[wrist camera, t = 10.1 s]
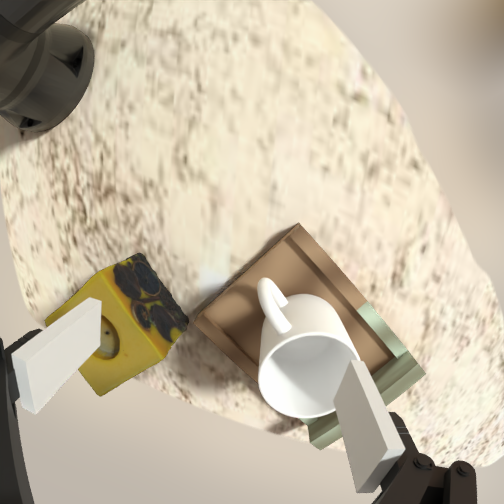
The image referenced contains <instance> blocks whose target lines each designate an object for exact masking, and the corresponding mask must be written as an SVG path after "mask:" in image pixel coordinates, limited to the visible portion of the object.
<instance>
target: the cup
mask: <svg viewBox="0 0 504 504" xmlns="http://www.w3.org/2000/svg"><path fill="white" fill-rule="evenodd" d="M257 291H258V298H259V301H260V304H261V307H262V309H263V312H264V314H265V316H266V317H265V320H264V323H263V327H262V334H261V347H260V359H259V371H258V385H259V389H260V392H261V394H262V396H263V398H264V399H265V401H266V402H267V403H268V404H269V405H270V406H271V407H272V408H274V409H275V410H276V411H278V412H280V413H282V414H284V415H287V416H290V417H295V418H316V417H320V416H324V415H327V414H329V413H332V412H334V411H336V410H335V406H334V402H333V400H334V397H335V395H336V393H337V391H338V388H339V386H340V384H341V381H342V379H343V377H344V374H345V372H346V369H347V367H348V364H349V362H350V359H351V360H358V361H361V360H360V357H359V355H358V353H357V351H356V349H355V347H354V345H353V343H352V341H351V339H350V337H349V335H348V333H347V331H346V329H345V328H344V326H343V324H342V322H341V320H340V318H339V316H338V314H337V312H336V311H335V309H334V308H333V307H332V306H331V305H330V304H329V303H328V302H327V301H325V300H324V299H322V298H320V297H317V296H314V295H310V294H296V295H292V296H289V297H286V298H285V297H284V295H283V294H282V292H281V291H280V290H279V288H278V287H277V286H276V285H275V283H274V282H273V281H272V280H270V279H269V278H262V279H260V280H259V282H258V286H257Z"/></svg>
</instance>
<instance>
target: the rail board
mask: <svg viewBox="0 0 504 504" xmlns="http://www.w3.org/2000/svg"><path fill="white" fill-rule="evenodd" d="M262 278H269V279H270V280H272V281H273V282H274V283H275V285H276V286H277V287H278V288H279V290H280V291H281V292H282V294H283V295H284V297H285V298H286V297H289V296H292V295H296V294H310V295H314V296H317V297H320V298H322V299H324V300H325V301H327V302H328V303H329V304H330V305H331V306H332V307H333V308H334V309H335V311H336V312H337V314H338V316H339V318H340V320H341V322H342V324H343V326H344V328H345V329H346V331H347V333H348V335H349V337H350V339H351V341H352V343H353V345H354V347H355V349H356V351H357V353H358V355H359V357H360V360H361V361H364V363H365V365H366V367H367V369H368V371H369V373H370V375H371V377H372V379H373V381H374V383H375V385H376V387H377V389H378V391H379V393H380V396H381V398H382V400H383V402H384V404H385V406H387V405H388V404H390V403H391V402H392V401H393V400H395V399H396V398H397V397H399V396H400V395H401V394H402V393H404V392H405V391H406V390H407V389H409V388H410V387H411V386H412V385H413V384H415V383H416V382H417V381H418V380H419V379H421V378H422V377H423V376H424V375H425V374H426V373H425V372H424V371H423V369H422V368H421V367H420V365H419V364H418V363H417V362H416V360H415V359H414V358H413V356H412V355H411V354H410V353H409V351H408V350H407V349H406V348H405V346H404V345H403V344H402V343H401V341H400V340H399V339H398V338H397V336H396V335H395V334H394V333H393V331H392V330H391V329H390V328H389V327H388V325H387V324H386V323H385V322H384V320H383V319H382V318H381V317H380V316H379V314H378V313H377V312H376V311H375V310H374V308H373V307H372V306H371V305H370V304H369V302H368V301H367V300H366V299H365V298H364V296H363V295H362V294H361V293H360V292H359V291H358V289H357V288H356V287H355V286H354V285H353V284H352V282H351V281H350V280H349V279H348V278H347V277H346V275H345V274H344V273H343V272H342V271H341V270H340V268H339V267H338V266H337V265H336V264H335V263H334V262H333V260H332V259H331V258H330V257H329V256H328V255H327V254H326V252H325V251H324V250H323V249H322V248H321V247H320V246H319V245H318V243H317V242H316V241H315V240H314V239H313V238H312V237H311V236H310V235H309V233H308V232H307V231H306V230H305V229H304V228H303V227H302V226H301V225H300V223H298V224H297V225H296V226H295V227H294V228H293V229H292V230H290V231H289V232H288V233H287V234H286V235H285V236H284V237H283V238H282V239H281V240H279V241H278V242H277V243H276V244H275V245H274V246H273V247H272V248H271V249H270V250H268V251H267V252H266V253H265V254H264V255H263V256H262V257H261V258H260V259H259V260H257V261H256V262H255V263H254V264H253V265H252V266H251V267H250V268H249V269H248V270H246V271H245V272H244V273H243V274H242V275H241V276H240V277H239V278H238V279H237V280H235V281H234V282H233V283H232V284H231V285H230V286H229V287H228V288H227V289H225V290H224V291H223V292H222V293H221V294H220V295H219V296H218V297H217V298H216V299H214V300H213V301H212V302H211V303H210V304H209V305H208V306H207V307H206V308H204V309H203V310H202V311H201V312H200V313H199V314H198V316H197V317H196V319H195V321H194V322H193V323H194V324H195V325H196V326H197V327H198V328H199V329H200V330H201V331H202V332H203V333H204V334H205V335H206V336H207V337H208V338H209V339H210V340H211V341H212V342H213V343H214V344H215V345H216V346H217V347H218V348H219V349H221V350H222V351H223V352H224V353H225V354H226V355H227V356H228V357H229V358H230V359H231V360H232V361H233V362H234V363H236V364H237V365H238V366H239V367H240V368H241V369H242V370H243V371H244V372H245V373H246V374H248V375H249V376H250V377H251V378H252V379H253V380H254V381H255V382H257V383H258V371H259V359H260V347H261V334H262V327H263V323H264V320H265V317H266V316H265V314H264V312H263V309H262V307H261V304H260V301H259V298H258V291H257V286H258V282H259V280H260V279H262ZM299 419H300V420H301V421H302V422H304V423H305V424H306V425H307V426H308V431H309V439H310V443H311V444H312V445H314V446H315V447H316V448H318V449H319V450H322V449H324V448H325V447H327V446H329V445H330V444H332V443H333V442H335V441H336V440H338V439H340V438H341V437H343V436H342V432H341V428H340V425H339V421H338V417H337V413H336V411H334V412H332V413H329V414H327V415H324V416H320V417H316V418H299Z"/></svg>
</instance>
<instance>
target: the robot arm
mask: <svg viewBox="0 0 504 504" xmlns="http://www.w3.org/2000/svg"><path fill="white" fill-rule="evenodd" d="M84 1H85V0H0V115H1V116H2V117H4V118H5V119H6V120H7V121H8V122H10V123H11V124H12V125H13V126H15V127H17V128H19V129H22V130H27V131H32V132H40V131H44V130H47V129H50V128H52V127H54V126H55V125H57V124H58V123H60V122H61V121H62V120H63V119H65V118H66V117H67V116H68V115H69V114H70V113H71V112H72V110H73V109H74V108H75V107H76V105H77V104H78V103H79V101H80V100H81V98H82V96H83V95H84V93H85V91H86V89H87V87H88V84H89V82H90V79H91V76H92V72H93V67H94V50H93V46H92V43H91V41H90V40H89V38H88V37H87V36H86V35H85V34H84V33H82V32H81V31H79V30H78V29H77V28H75V27H73V26H70V25H65V24H58V23H55V22H56V21H58V20H59V19H60V18H61V17H63V16H64V15H66V14H67V13H68V12H70V11H71V10H72V9H74V8H75V7H77V6H78V5H80V4H81V3H83V2H84ZM101 305H102V301H100V300H97V299H94V298H91V297H89V298H88V299H86V300H85V301H83V302H82V303H80V304H79V305H78V306H76V307H75V308H73V309H72V310H71V311H69V312H68V313H66V314H65V315H64V316H62V317H61V318H59V319H58V320H57V321H55V322H54V323H52V324H51V325H50V326H48V327H47V328H46V329H44V330H41V329H36V330H33V331H30V332H28V333H27V334H25V335H24V336H23V338H22V337H21V338H20V339H18V341H16V342H14V343H13V344H12V345H10V346H9V347H7V348H6V349H5V350H4V346H3V341H2V339H1V338H0V504H34V501H33V496H32V493H31V489H30V485H29V481H28V476H27V472H26V467H25V462H24V457H23V452H22V446H21V440H20V434H19V427H18V419H17V410H16V405H15V401H16V400H17V399H18V398H19V397H20V400H21V404H22V407H23V408H24V409H26V410H28V411H30V412H31V413H33V414H35V415H36V414H37V413H38V412H39V411H40V410H41V409H42V407H43V406H44V405H45V404H46V403H47V402H48V401H49V400H50V398H51V397H52V396H53V395H54V394H55V393H56V392H57V391H58V390H59V389H60V388H61V386H63V384H64V383H65V382H66V381H67V380H68V379H69V378H70V377H71V376H72V375H73V374H74V373H75V372H76V371H77V369H78V368H79V367H80V366H81V365H82V364H83V363H84V362H85V361H86V360H87V359H88V358H89V357H90V356H91V355H92V354H93V353H94V352H95V350H96V349H97V348H98V347H99V346H100V330H101ZM333 402H334V406H335V410H336V413H337V417H338V421H339V425H340V428H341V432H342V436H343V440H344V444H345V448H346V452H347V455H348V460H349V464H350V468H351V472H352V476H353V480H354V484H355V488H356V492H357V493H373V492H374V491H375V490H376V488H377V487H378V486H379V485H381V488H382V492H381V493H380V495H379V496H378V497H377V498H376V499H375V501H373V503H372V504H477V487H476V486H477V485H476V473H475V469H474V468H473V467H472V466H471V465H470V464H469V463H467V462H465V461H459V460H458V461H455V462H454V463H453V464H452V465H451V466H450V467H449V468H444V467H438V466H435V464H434V461H433V460H432V459H431V458H430V457H428V456H427V455H425V454H422V453H419V452H418V450H417V448H416V446H415V444H414V442H413V440H412V438H411V436H410V434H409V432H408V430H407V428H406V426H405V424H404V422H403V420H402V418H400V417H399V416H398V415H397V414H396V413H395V412H388V410H387V408H386V406H385V404H384V402H383V400H382V398H381V396H380V393H379V391H378V389H377V387H376V385H375V383H374V381H373V379H372V377H371V375H370V373H369V371H368V369H367V367H366V365H365V363H364V361H358V360H351V359H350V362H349V364H348V367H347V369H346V372H345V374H344V377H343V379H342V381H341V384H340V386H339V388H338V391H337V393H336V395H335V397H334V400H333Z"/></svg>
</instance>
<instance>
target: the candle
mask: <svg viewBox="0 0 504 504" xmlns="http://www.w3.org/2000/svg"><path fill="white" fill-rule="evenodd" d="M89 297H91V298H94V299H97V300H100V301H102V305H101V330H100V346H99V347H98V348H97V349H96V350H95V352H94V353H93V354H92V355H91V356H90V357H89V358H88V359H87V360H86V361H85V362H84V363H83V364H82V365H81V366H80V367H79V368H78V370H79V371H80V373H81V374H82V376H83V377H84V378H85V380H86V381H87V382H88V383H89V384H90V386H91V387H92V389H93V390H94V391H95V392H96V394H97V395H99V396H102V395H105V394H106V393H108V392H109V391H111V390H113V389H114V388H116V387H118V386H119V385H120V384H122V383H124V382H125V381H127V380H129V379H130V378H132V377H134V376H136V375H137V374H139V373H141V372H142V371H144V370H146V369H147V368H149V367H151V366H153V365H155V364H157V363H159V362H160V361H161V360H163V359H164V358H165V357H166V355H167V354H168V351H169V350H170V349H171V346H172V345H173V344H174V343H175V341H176V340H177V339H178V337H179V336H180V335H181V334H182V333H183V332H184V331H185V330H186V328H187V327H186V325H188V323H189V320H188V317H187V316H186V315H184V313H183V312H182V310H181V308H180V306H178V305H177V304H176V302H175V300H174V299H173V298H172V295H171V294H170V292H169V291H168V290H167V289H166V287H165V286H164V285H163V283H162V282H161V281H160V279H159V278H158V277H157V274H156V272H155V271H154V270H153V269H152V268H151V266H150V264H149V263H148V262H147V260H146V258H145V256H144V255H143V254H141V253H137V254H135V255H133V256H131V257H129V258H127V259H126V260H125V261H122V262H120V263H117V264H114V265H112V266H109V267H107V268H105V269H103V270H101V271H99V272H97V273H96V274H95V275H94V276H92V277H91V278H90V279H89V280H88V281H87V282H86V283H85V284H84V286H83V287H82V288H81V289H80V290H78V291H77V292H76V293H75V294H74V295H73V296H71V298H70V299H69V300H67V301H66V302H65V303H64V304H63V305H62V306H61V307H60V308H59V309H57V310H56V311H55V312H53V313H52V314H51V315H50V316H48V317H47V318H46V320H45V323H46V326H47V327H48V326H50V325H51V324H52V323H54V322H55V321H57V320H58V319H59V318H61V317H62V316H64V315H65V314H66V313H68V312H69V311H71V310H72V309H73V308H75V307H76V306H78V305H79V304H80V303H82V302H83V301H85V300H86V299H88V298H89Z"/></svg>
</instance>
